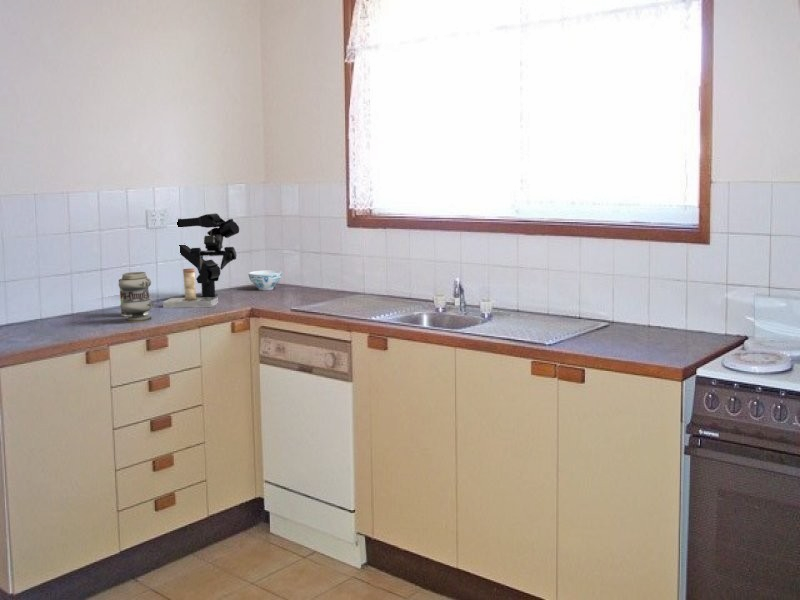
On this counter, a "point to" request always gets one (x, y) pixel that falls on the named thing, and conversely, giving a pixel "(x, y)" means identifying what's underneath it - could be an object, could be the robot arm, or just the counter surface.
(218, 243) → the robot arm
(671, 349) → the counter surface
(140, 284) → the apothecary jar
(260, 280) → the chinaware
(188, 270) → the peg
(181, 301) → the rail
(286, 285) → the counter surface
